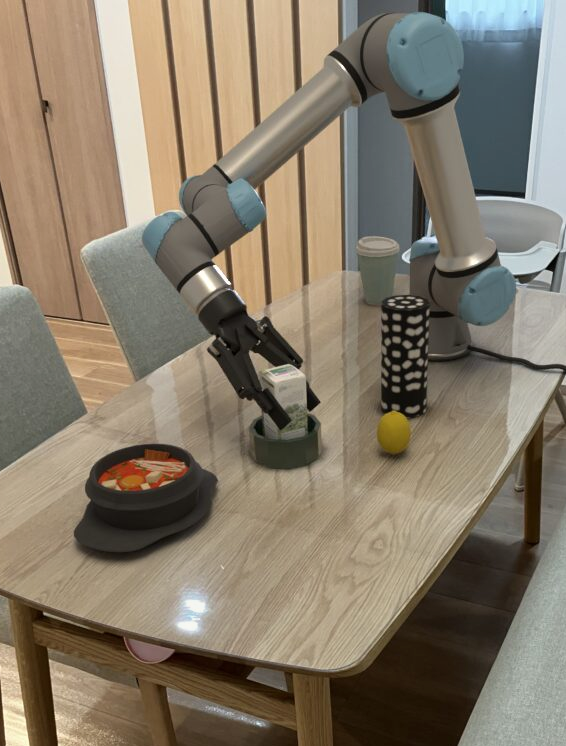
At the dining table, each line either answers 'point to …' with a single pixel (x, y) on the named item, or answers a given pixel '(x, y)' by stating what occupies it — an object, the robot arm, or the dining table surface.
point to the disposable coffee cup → (377, 267)
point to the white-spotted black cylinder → (404, 354)
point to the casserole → (143, 497)
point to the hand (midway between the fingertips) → (300, 416)
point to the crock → (286, 446)
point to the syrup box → (286, 401)
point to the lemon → (393, 432)
